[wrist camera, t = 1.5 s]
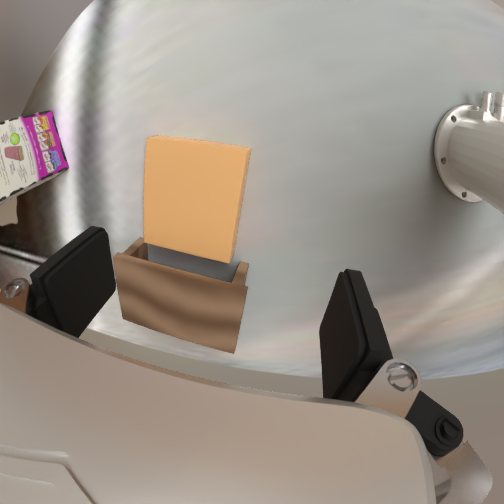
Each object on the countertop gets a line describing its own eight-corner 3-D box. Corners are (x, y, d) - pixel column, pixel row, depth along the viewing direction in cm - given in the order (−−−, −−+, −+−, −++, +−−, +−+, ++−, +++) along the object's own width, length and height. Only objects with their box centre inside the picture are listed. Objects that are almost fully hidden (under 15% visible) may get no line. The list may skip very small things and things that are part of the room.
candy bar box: (38, 123, 31) (-38, 147, 16) (53, 109, 29) (-30, 129, 15) (54, 179, 35) (-19, 218, 21) (70, 168, 34) (-11, 207, 20)
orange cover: (157, 135, 30) (146, 137, 28) (251, 148, 29) (247, 150, 27) (153, 234, 37) (144, 242, 35) (233, 253, 36) (229, 263, 34)
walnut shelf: (135, 236, 38) (112, 256, 32) (254, 265, 36) (246, 292, 31) (140, 295, 43) (122, 318, 38) (242, 324, 42) (233, 353, 37)
